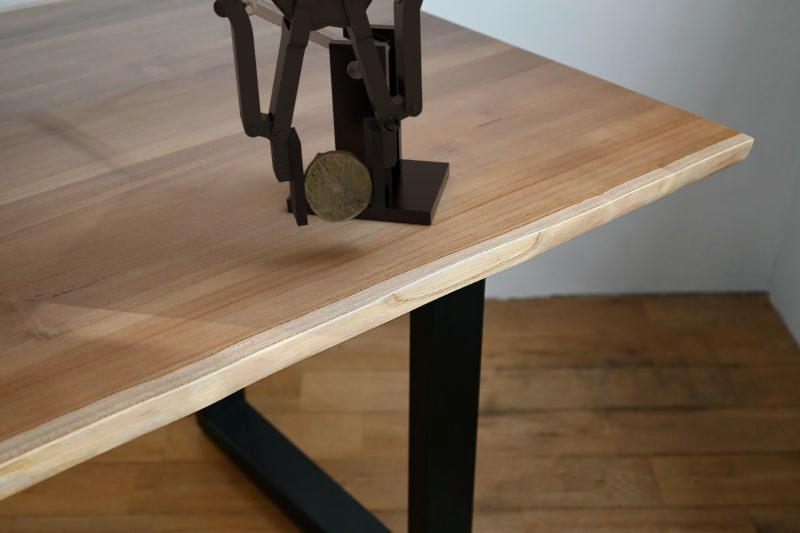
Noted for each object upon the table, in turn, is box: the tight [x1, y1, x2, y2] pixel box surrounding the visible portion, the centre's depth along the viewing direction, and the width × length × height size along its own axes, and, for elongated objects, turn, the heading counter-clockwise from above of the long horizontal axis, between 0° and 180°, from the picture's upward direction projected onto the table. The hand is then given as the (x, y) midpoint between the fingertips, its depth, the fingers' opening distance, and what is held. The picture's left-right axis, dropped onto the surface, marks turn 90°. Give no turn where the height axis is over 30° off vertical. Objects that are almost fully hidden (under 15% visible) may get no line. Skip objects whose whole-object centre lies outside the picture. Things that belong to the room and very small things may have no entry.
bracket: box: [286, 23, 450, 226], centre depth 74 cm, size 12×9×14 cm
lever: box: [212, 0, 390, 51], centre depth 71 cm, size 13×6×2 cm, turn 78°
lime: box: [304, 149, 373, 224], centre depth 66 cm, size 4×5×5 cm
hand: (338, 210), depth 67 cm, fingers closed on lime, 5 cm apart
